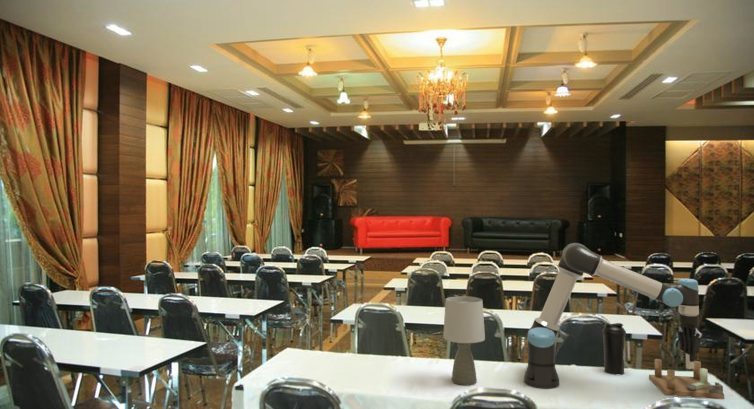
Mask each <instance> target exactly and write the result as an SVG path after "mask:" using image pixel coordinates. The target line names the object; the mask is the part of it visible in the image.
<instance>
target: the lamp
mask: <svg viewBox="0 0 754 409" xmlns="http://www.w3.org/2000/svg"><path fill="white" fill-rule="evenodd" d="M444 304H445V305H444V320H443V333H442V334H443V335H442V336H443V340H446V341H448V342H451V343H457V347H458V348H457V351H456V353H455V357H454V360H453V367H452V370H451V371H452V372H451V382H452V383H453V384H455V385H459V386H472V385H475V384H476V383H477V382H478V379H477V371H476V365H475V360H474V357H473V353H472V351H471V346H472V344H477V343H482V342H484V341H485V340H486V334H485V333H486V332H485V320H484V319H485V318H484V317H485V316H484V304H483V299H482V298H480V297H476V296H449V297H447V298H445V302H444Z"/></svg>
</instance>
